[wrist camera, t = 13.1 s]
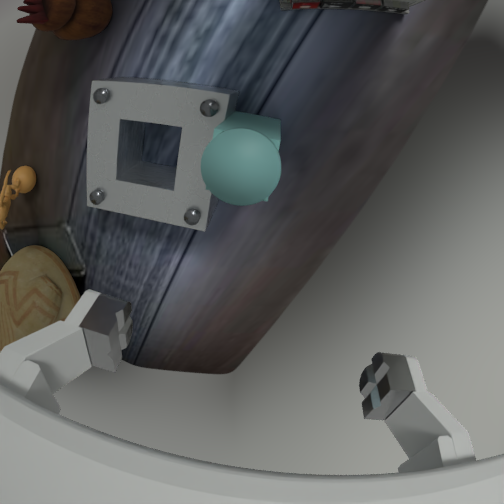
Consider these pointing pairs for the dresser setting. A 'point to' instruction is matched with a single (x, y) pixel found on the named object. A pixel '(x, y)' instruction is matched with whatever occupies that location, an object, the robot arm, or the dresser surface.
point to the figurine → (21, 183)
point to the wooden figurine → (68, 17)
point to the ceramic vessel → (34, 293)
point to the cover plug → (243, 159)
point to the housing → (131, 147)
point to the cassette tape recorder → (351, 5)
